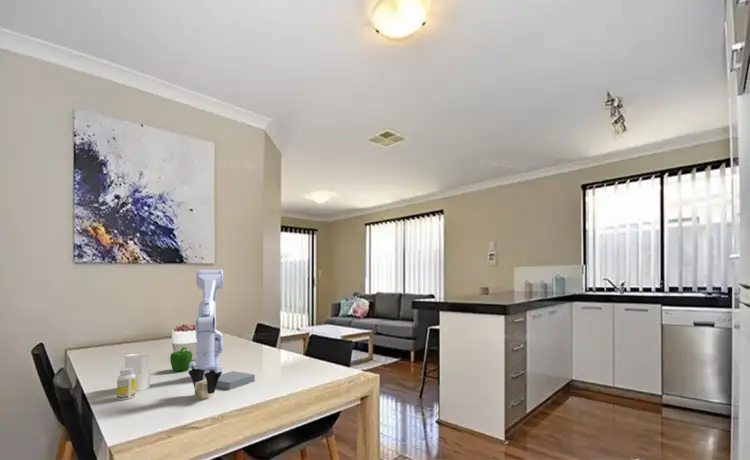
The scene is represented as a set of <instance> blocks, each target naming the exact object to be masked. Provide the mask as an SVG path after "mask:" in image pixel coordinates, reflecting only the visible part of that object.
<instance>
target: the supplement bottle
mask: <svg viewBox="0 0 750 460" xmlns="http://www.w3.org/2000/svg"><path fill="white" fill-rule="evenodd" d="M133 371H134V368H133V367H129V368H125V367H123V368H120V370H119V374H120V375H119V376H118V377H117V381H116V382H117V383H116V385H117V387H116V389H117V390H116V399H117V400H119V401H125V400H130V399H133V398H135V397H136V392H135V384H136V376H135V374H133Z"/></svg>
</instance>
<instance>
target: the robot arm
mask: <svg viewBox="0 0 750 460" xmlns="http://www.w3.org/2000/svg"><path fill="white" fill-rule="evenodd" d="M195 277H196V279H195V281H196V282H195V283H196V286H197V288H198V290H201V291H202V299H201V301H199V303H198V311H197V317H196V318H195V322H194V323H195V326H194V327H195V329H194V330H195V339H196V350H195V352H196V358H195V359H194V361H191V363H189V369H191V370H187V371H188V375H189V376H190V378H191V381H192V384H193V388H194V389H195V383H196V382H199V381H202V380H207V387H208V394H211V393H214V392H216V388H217V387H216V385H217V382H218V379H219V377H220V375H222V374H223V367H222V365H220V354H222V353H223V351H224V337H223V333H222V332H221V331H219V330H218V329H217V293H218V291H219V290H221V289H222V288H223V287H224V269H222V268H221V269H198V270H196V276H195Z"/></svg>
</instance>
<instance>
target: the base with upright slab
mask: <svg viewBox="0 0 750 460" xmlns="http://www.w3.org/2000/svg"><path fill="white" fill-rule="evenodd" d="M149 358H150V355H149V354H140V353H138V354H137V353H130V354H125V355H124V368H129V367H133V368H134V371H133V374H135V376H136V384H135V393H137V392H140V391H144V390H147V389H149V388H150V387H151V369H149V363H150V359H149Z"/></svg>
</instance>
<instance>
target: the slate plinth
mask: <svg viewBox="0 0 750 460" xmlns="http://www.w3.org/2000/svg"><path fill="white" fill-rule="evenodd" d="M255 376H256V375H255V374H254V373H248V372H247V373H246V372H242V371H241V372H240V371H234V370H232V371H229V372H226V373H222V375H220V377H219V379H218V382H217V385H216V388H218V389H222V388H223V390H228V389H231V390H234V389H236V387H237V388H239V387H242V386H245V385H248V384H251V383H253V382H255V381H256V380H255ZM250 382H251V383H250ZM244 384H245V385H244ZM241 385H242V386H241ZM238 386H239V387H238ZM233 388H234V389H233Z"/></svg>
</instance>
